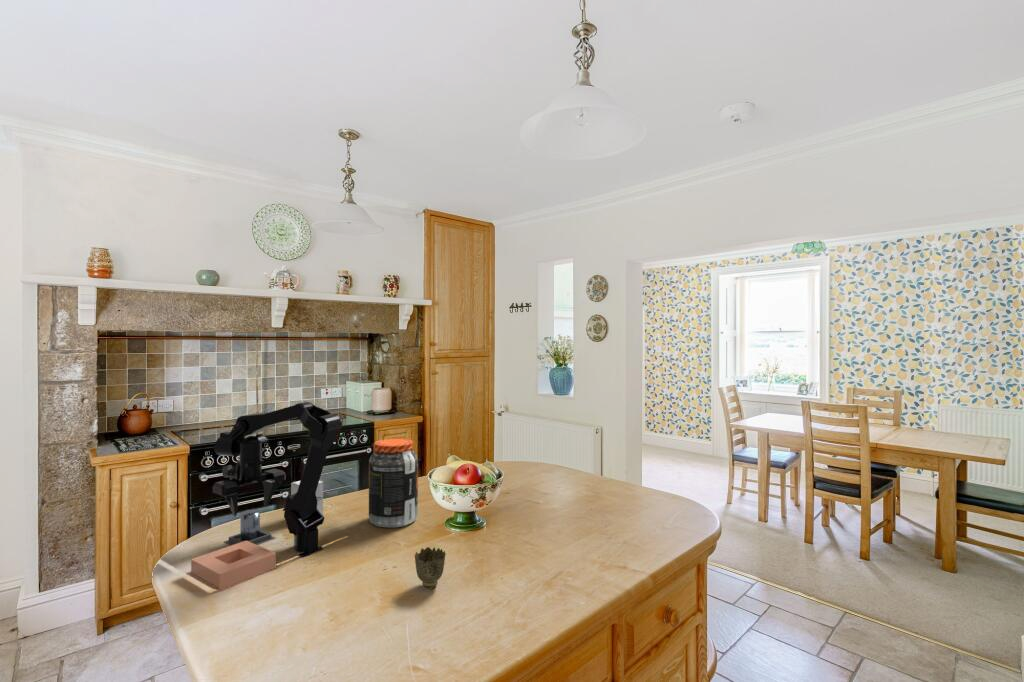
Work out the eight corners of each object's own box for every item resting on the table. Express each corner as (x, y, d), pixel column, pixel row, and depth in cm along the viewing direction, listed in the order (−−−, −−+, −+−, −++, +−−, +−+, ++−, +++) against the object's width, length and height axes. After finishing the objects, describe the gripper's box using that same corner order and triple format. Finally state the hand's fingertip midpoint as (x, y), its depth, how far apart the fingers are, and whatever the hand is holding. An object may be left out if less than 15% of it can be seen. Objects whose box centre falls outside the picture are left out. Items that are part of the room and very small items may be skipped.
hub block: (275, 568, 130) (275, 553, 130) (219, 591, 119) (220, 574, 119) (246, 554, 138) (246, 540, 138) (191, 575, 126) (191, 559, 126)
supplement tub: (425, 523, 162) (426, 443, 162) (378, 533, 154) (378, 449, 153) (406, 508, 176) (407, 435, 175) (361, 517, 167) (362, 440, 166)
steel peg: (263, 538, 147) (263, 511, 147) (246, 544, 142) (246, 516, 142) (253, 535, 149) (253, 508, 149) (236, 540, 145) (237, 513, 145)
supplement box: (302, 526, 159) (302, 486, 158) (290, 520, 163) (290, 482, 163) (323, 519, 165) (323, 481, 164) (311, 514, 169) (311, 477, 169)
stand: (276, 540, 147) (276, 534, 147) (242, 553, 139) (242, 545, 139) (257, 533, 153) (257, 526, 153) (223, 544, 145) (223, 537, 144)
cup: (431, 596, 117) (431, 562, 117) (407, 588, 121) (408, 555, 121) (451, 583, 124) (451, 551, 123) (428, 575, 127) (428, 544, 127)
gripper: (265, 447, 158) (265, 497, 158) (202, 460, 142) (202, 514, 142) (286, 452, 152) (286, 503, 152) (223, 465, 136) (223, 523, 136)
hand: (250, 510), depth 146 cm, fingers open, 9 cm apart
